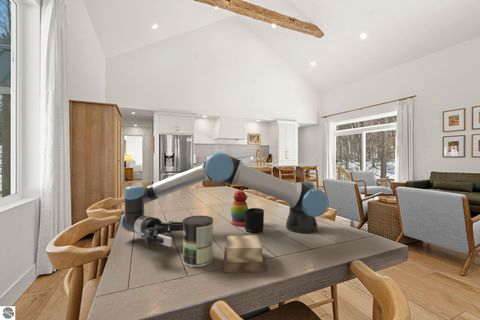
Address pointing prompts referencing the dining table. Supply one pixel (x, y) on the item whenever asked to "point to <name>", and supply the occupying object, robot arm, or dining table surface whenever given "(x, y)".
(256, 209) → the pen holder
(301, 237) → the dining table surface
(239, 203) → the stacking bear
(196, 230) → the coffee can
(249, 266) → the plinth
